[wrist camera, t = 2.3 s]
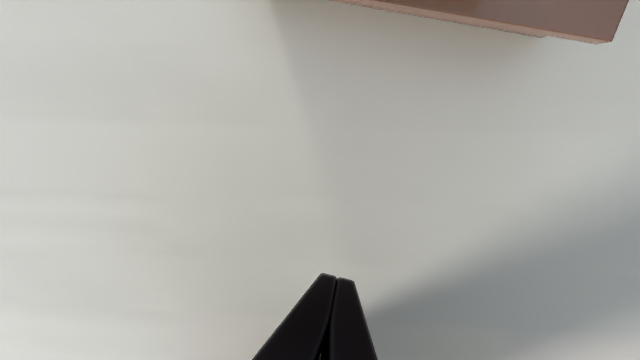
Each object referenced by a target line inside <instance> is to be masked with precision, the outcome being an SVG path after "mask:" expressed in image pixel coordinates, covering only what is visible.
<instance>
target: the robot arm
mask: <svg viewBox="0 0 640 360" xmlns="http://www.w3.org/2000/svg"><path fill="white" fill-rule="evenodd" d="M252 360H377V356H376V353H375V349H374V346H373V343H372V339H371V336H370V333H369V329H368V326H367V323H366V319H365V316H364V313H363V309H362V306H361V303H360V299H359V296H358V293H357V289H356V286H355V283H354V281H352V280H349V279H345V278H341V277H340V278H338V279H337V278H336V276H333V275H329V274H325V273H322V274H320V275H319V276H318V278H317V279H316V280H315V281H314V283H313V284H312V285H311V286H310V288H309V289H308V290H307V291H306V293H305V294H304V295H303V296H302V298H301V299H300V300H299V301H298V303H297V304H296V305H295V306H294V308H293V309H292V310H291V311H290V313H289V314H288V315H287V317H286V318H285V319H284V320H283V322H282V323H281V324H280V325H279V327H278V328H277V329H276V330H275V332H274V333H273V334H272V335H271V337H270V338H269V339H268V340H267V342H266V343H265V344H264V345H263V347H262V348H261V349H260V350H259V352H258V353H257V354H256V355H255V357H254V358H253V359H252Z"/></svg>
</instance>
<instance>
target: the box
mask: <svg viewBox="0 0 640 360" xmlns="http://www.w3.org/2000/svg"><path fill="white" fill-rule="evenodd" d="M331 1H337V2H342V3H348V4H354V5H359V6H365V7H371V8H376V9H382V10H388V11H393V12H399V13H405V14H410V15H416V16H422V17H427V18H433V19H439V20H444V21H450V22H456V23H461V24H467V25H473V26H478V27H484V28H490V29H495V30H501V31H507V32H512V33H518V34H524V35H529V36H535V37H541V38H542V37H546V35H541V34H535V33H529V32H524V31H518V30H512V29H506V28H501V27H495V26H489V25H484V24H478V23H472V22H467V21H461V20H455V19H450V18H444V17H438V16H432V15H427V14H421V13H415V12H410V11H404V10H398V9H393V8H387V7H381V6H376V5H370V4H364V3H358V2H353V1H347V0H331Z"/></svg>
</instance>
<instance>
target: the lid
mask: <svg viewBox="0 0 640 360" xmlns="http://www.w3.org/2000/svg"><path fill="white" fill-rule="evenodd" d="M347 1H353V2H358V3H364V4H370V5H376V6H381V7H387V8H393V9H398V10H404V11H410V12H415V13H421V14H427V15H432V16H438V17H444V18H450V19H455V20H461V21H467V22H472V23H478V24H484V25H489V26H495V27H501V28H506V29H512V30H518V31H524V32H529V33H535V34H541V35H546V36H552V37H558V38H563V39H569V40H575V41H580V42H586V43H592V44H601V43H606V42H611V41H612V40H613V37H614V35H615V33H616V30H617V28H618V25H619V23H620V20H621V18H622V16H623V13H624V11H625V8H626V6H627V3H628V1H629V0H347Z"/></svg>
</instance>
